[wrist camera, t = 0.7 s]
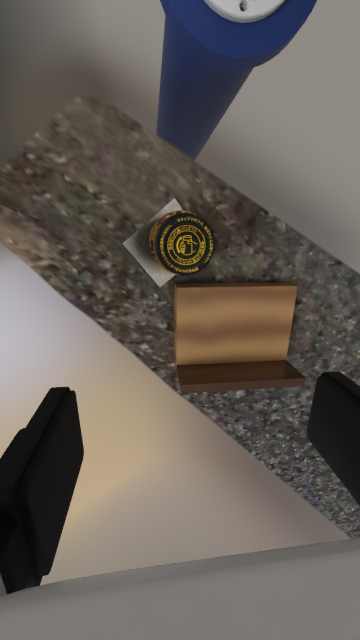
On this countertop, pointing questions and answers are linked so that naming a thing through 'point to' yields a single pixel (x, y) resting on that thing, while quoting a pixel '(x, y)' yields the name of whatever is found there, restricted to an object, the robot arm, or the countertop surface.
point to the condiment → (172, 243)
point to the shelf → (234, 336)
